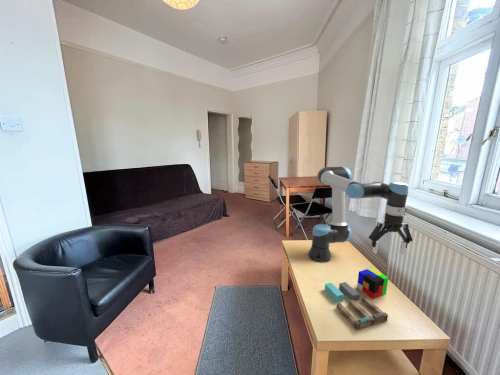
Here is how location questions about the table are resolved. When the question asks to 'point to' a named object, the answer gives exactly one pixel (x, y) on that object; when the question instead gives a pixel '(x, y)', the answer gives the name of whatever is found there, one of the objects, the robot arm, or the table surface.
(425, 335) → the table surface
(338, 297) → the teal block
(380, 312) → the comb rack
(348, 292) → the grey block
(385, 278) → the puzzle toy
